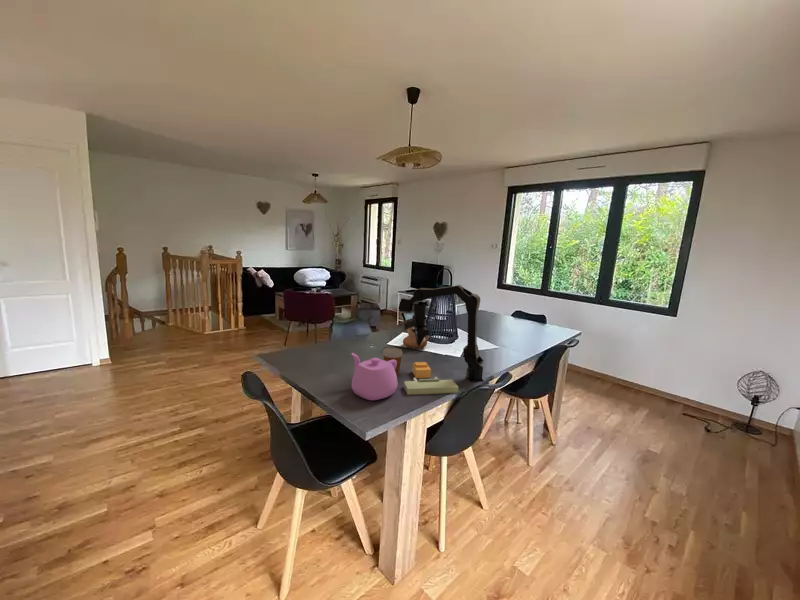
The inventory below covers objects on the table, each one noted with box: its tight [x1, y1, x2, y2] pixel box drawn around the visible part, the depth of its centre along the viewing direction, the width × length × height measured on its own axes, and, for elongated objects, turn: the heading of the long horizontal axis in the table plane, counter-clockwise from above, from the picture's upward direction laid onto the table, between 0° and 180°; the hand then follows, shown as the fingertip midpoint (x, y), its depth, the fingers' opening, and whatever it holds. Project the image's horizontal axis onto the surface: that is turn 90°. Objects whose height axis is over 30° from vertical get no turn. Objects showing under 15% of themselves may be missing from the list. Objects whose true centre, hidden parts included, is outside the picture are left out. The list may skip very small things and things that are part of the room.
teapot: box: [351, 352, 398, 401], centre depth 151 cm, size 23×21×15 cm
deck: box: [403, 376, 460, 396], centre depth 157 cm, size 22×14×3 cm, turn 100°
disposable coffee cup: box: [382, 347, 404, 377], centre depth 169 cm, size 10×10×12 cm
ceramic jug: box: [402, 323, 430, 350], centre depth 213 cm, size 18×14×14 cm
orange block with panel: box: [411, 361, 432, 379], centre depth 171 cm, size 7×8×5 cm
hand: (418, 344), depth 178 cm, fingers closed
